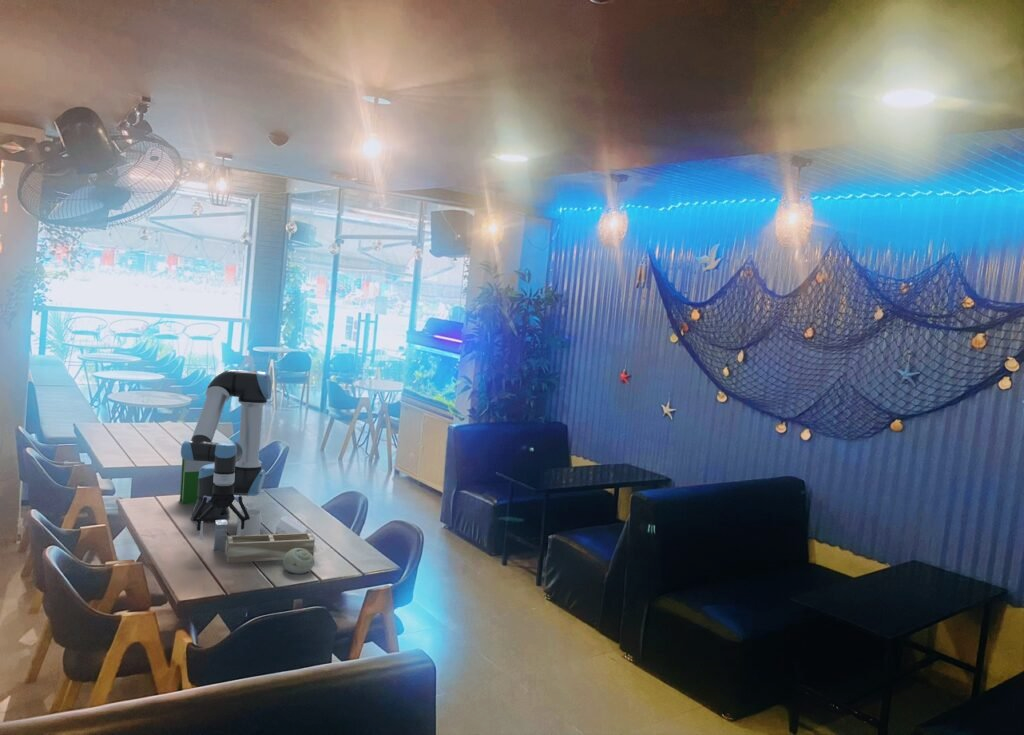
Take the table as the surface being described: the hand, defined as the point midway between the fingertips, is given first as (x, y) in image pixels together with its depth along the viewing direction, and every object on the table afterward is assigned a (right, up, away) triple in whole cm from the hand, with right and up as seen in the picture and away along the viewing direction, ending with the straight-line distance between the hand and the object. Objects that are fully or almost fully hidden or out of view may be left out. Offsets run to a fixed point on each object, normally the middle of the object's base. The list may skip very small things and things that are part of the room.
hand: (220, 538), depth 277 cm
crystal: (+22, -5, +21) cm, 31 cm away
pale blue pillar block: (0, -4, +1) cm, 5 cm away
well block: (+20, -6, -1) cm, 21 cm away
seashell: (+33, -9, -12) cm, 36 cm away
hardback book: (-32, +3, +59) cm, 68 cm away
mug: (+5, -4, +16) cm, 17 cm away
